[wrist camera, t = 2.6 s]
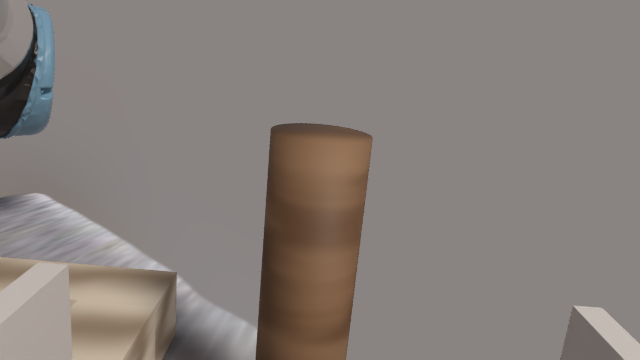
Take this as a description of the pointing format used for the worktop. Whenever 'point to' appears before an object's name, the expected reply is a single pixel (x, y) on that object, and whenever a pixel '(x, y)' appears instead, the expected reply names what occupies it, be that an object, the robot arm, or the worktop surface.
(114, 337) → the socket block
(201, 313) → the worktop surface
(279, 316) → the peg
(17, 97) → the robot arm
